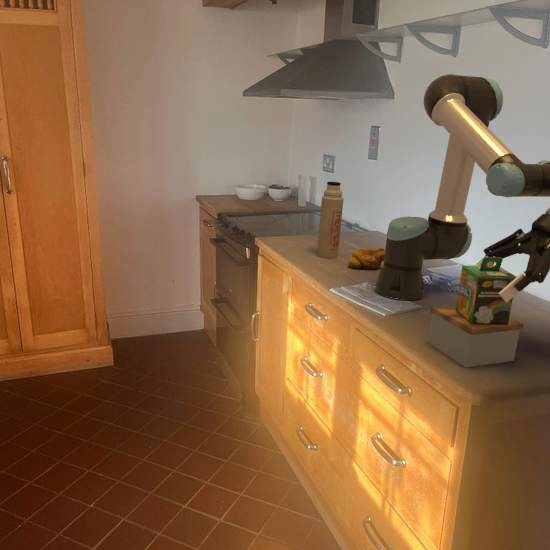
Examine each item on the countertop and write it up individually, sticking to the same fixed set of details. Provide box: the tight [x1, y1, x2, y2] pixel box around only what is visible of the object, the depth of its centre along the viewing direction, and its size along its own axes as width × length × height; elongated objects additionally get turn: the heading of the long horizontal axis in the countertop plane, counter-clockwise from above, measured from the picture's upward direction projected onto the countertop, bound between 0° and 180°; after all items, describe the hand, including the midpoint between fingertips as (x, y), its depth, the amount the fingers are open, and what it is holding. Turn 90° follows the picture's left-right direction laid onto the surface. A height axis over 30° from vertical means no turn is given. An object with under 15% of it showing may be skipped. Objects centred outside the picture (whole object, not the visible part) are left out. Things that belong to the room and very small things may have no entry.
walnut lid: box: [430, 304, 524, 335], centre depth 130 cm, size 15×14×1 cm
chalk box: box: [456, 256, 517, 325], centre depth 126 cm, size 9×9×15 cm
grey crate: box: [427, 312, 521, 368], centre depth 131 cm, size 14×14×8 cm
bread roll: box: [348, 247, 385, 270], centre depth 197 cm, size 13×10×8 cm
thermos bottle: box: [316, 181, 344, 260], centre depth 206 cm, size 8×8×28 cm
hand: (485, 287), depth 126 cm, fingers open, 13 cm apart
